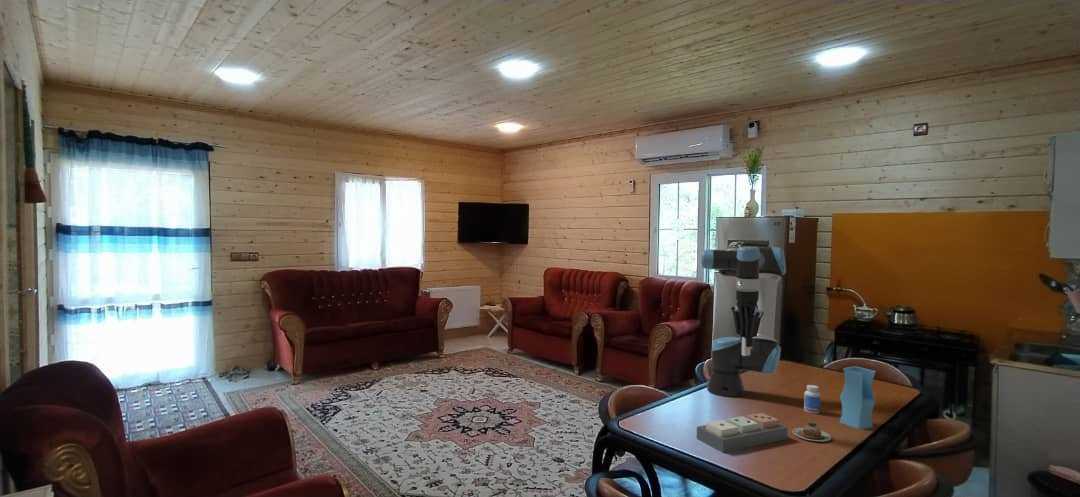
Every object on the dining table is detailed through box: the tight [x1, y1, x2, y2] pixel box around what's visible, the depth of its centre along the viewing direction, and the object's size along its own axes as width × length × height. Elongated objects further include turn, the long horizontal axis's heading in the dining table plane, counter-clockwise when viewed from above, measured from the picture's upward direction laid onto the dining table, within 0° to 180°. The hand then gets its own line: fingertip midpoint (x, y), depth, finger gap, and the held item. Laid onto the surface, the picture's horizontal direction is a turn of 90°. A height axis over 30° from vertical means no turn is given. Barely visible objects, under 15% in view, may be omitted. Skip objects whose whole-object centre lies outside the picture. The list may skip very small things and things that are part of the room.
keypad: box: [696, 420, 788, 453], centre depth 176 cm, size 12×28×4 cm, turn 114°
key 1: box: [705, 419, 738, 437], centre depth 172 cm, size 7×7×4 cm
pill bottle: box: [803, 384, 821, 414], centre depth 204 cm, size 6×5×10 cm
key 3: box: [746, 412, 779, 429], centre depth 179 cm, size 7×7×4 cm
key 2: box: [726, 415, 759, 433], centre depth 176 cm, size 7×7×4 cm
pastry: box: [791, 422, 832, 443], centre depth 179 cm, size 12×12×5 cm
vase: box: [839, 366, 877, 430], centre depth 190 cm, size 8×8×20 cm
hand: (745, 355), depth 190 cm, fingers closed
